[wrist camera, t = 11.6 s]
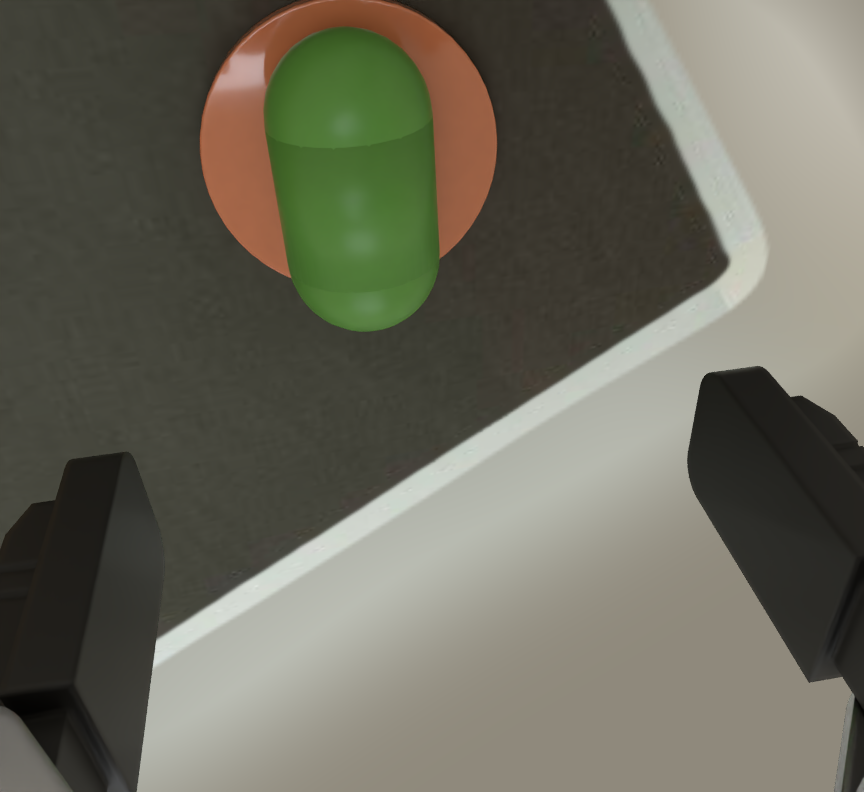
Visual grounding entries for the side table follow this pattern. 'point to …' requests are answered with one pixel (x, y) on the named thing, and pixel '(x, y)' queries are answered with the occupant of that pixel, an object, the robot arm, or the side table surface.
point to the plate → (245, 133)
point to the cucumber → (354, 176)
